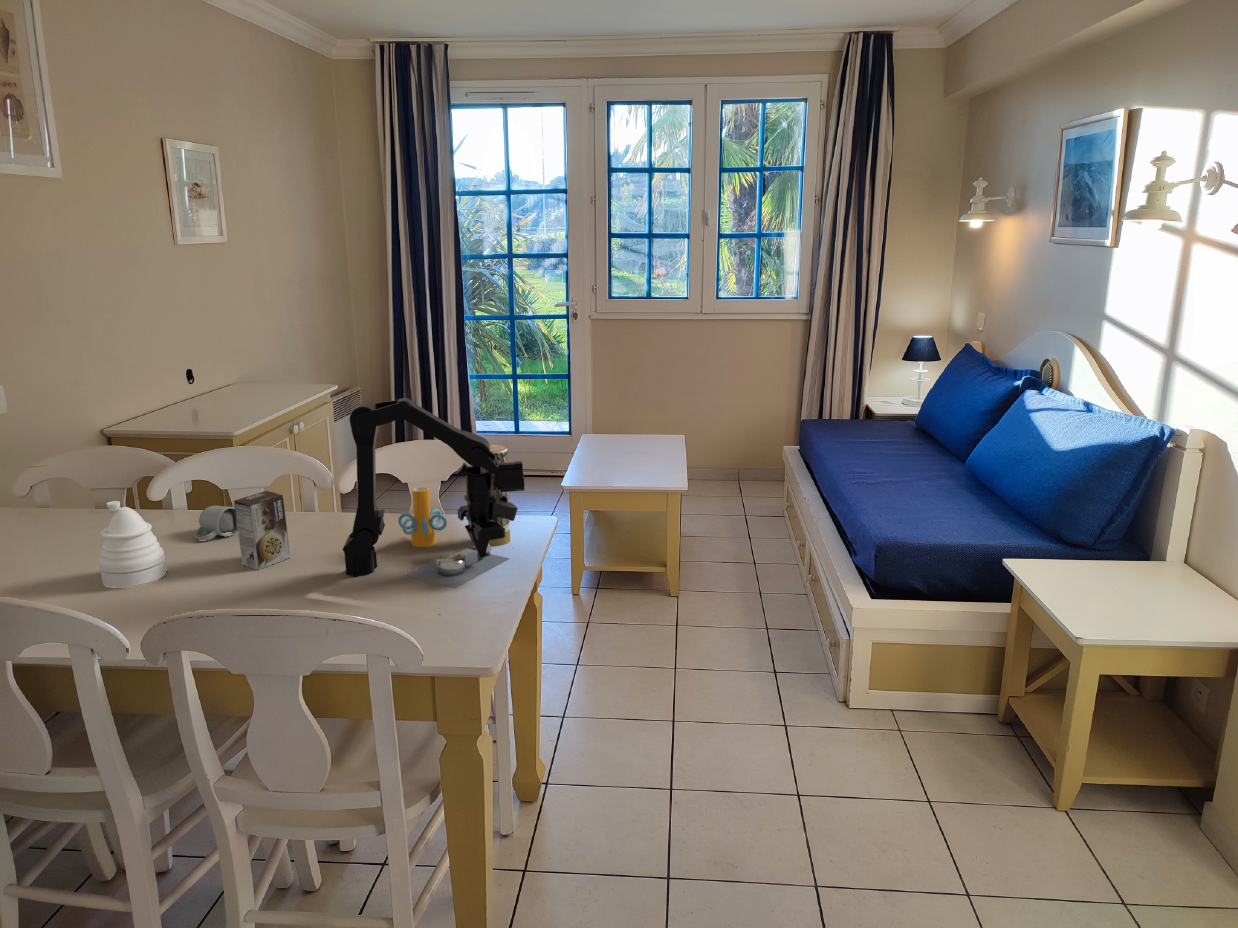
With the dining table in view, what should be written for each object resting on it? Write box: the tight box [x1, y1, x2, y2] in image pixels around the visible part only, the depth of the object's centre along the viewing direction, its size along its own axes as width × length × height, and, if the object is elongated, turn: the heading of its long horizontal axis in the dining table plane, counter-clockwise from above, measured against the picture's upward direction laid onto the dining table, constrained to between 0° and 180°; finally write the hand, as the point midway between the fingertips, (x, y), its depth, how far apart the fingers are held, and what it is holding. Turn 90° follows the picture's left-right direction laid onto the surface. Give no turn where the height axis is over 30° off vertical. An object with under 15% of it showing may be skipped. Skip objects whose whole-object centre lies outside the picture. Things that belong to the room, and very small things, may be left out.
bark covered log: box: [481, 444, 511, 547], centre depth 209 cm, size 7×7×25 cm
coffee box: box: [233, 490, 291, 570], centre depth 199 cm, size 9×6×16 cm
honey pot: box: [98, 500, 168, 587], centre depth 190 cm, size 13×13×18 cm
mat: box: [404, 547, 511, 589], centre depth 196 cm, size 20×15×1 cm
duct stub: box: [473, 543, 492, 560], centre depth 202 cm, size 4×3×3 cm
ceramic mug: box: [194, 505, 238, 541], centre depth 217 cm, size 11×8×8 cm
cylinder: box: [397, 486, 448, 548], centre depth 209 cm, size 12×10×15 cm
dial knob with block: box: [435, 545, 481, 576], centre depth 195 cm, size 12×6×3 cm, turn 148°
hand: (482, 556), depth 196 cm, fingers closed
